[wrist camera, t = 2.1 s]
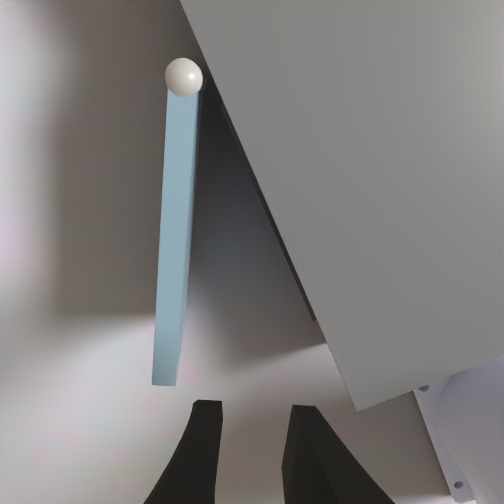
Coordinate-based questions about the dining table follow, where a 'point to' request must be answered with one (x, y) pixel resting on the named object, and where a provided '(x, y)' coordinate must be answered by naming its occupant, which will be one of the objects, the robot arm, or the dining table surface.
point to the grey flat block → (375, 171)
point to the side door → (176, 213)
